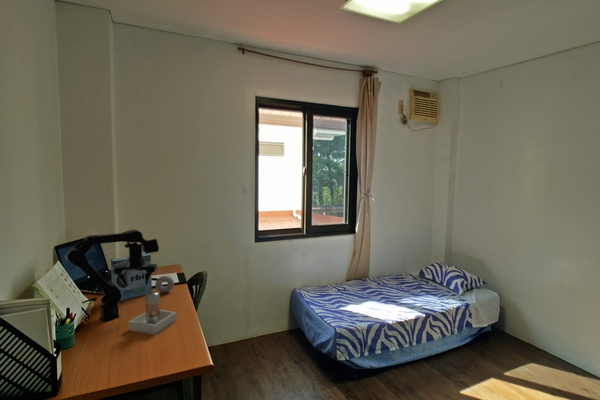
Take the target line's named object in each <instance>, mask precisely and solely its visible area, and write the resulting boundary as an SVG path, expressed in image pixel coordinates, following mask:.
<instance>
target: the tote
mask: <svg viewBox="0 0 600 400" xmlns="http://www.w3.org/2000/svg"><path fill="white" fill-rule="evenodd" d="M176 321H177V312H176V311H170V310H164V309H160V322H158V323H157V324H155V325H152V324H146V311H145V312H143V313H141V314H140V315H138V316H135V317H134V318H132V319H130V320H129V321H127V322H128V331H131V332H132V331H133V332H136V333H141V334H142V333H143V334H146V335H147V334H148V335H153V336H156V335H157V334H159V333H160V332H162V331H163V330H164V329H166V328H167V327H169V326H170V325H172V324H173V323H175V322H176Z"/></svg>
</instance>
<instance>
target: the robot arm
mask: <svg viewBox="0 0 600 400" xmlns="http://www.w3.org/2000/svg"><path fill="white" fill-rule="evenodd" d="M120 242H121V243H122V242H123V243H125V244H124V246H123V247H124V248H126V249H128V257H129V264H130V266H129V267H127V266H126V265H119V266H117V267H116V268H115V269H114V274H117V276H120V278H121V279H122V280H123V282H124V284H125V285H126V286H128V281H127V271H139V270H146V271H147V272H146V285H147V284H148V281H149V278H150V275H151V276H152V274H153V273H155V272H156V271H157V270H158V264H157V263H151V264H149V265H148V266H144V265H145V263H146V259H144V258H143V255H142V254H143V253H144V254H147V253H148V254H152V253H153V254H154V253H158V252H159V248H160V247H159V243H158V240H157V239H156V238H152V239H145V238H144V235H143V233H142V232H141V231H139V230H137V229H133V228H132V229H129V230H125V231H123V232H118V233H107V234H96V235H95V234H94V235H92V234H89V235H87V236H86V237H85V238H83V240H81V241H80V242H78V243H77V244H76V245H75V246H74V247H71V248H69V249H67V251H66V254H65V255H66V256H65V257H66V259H67V260H68V261H69V262H70V263H72V264H73V265H74V266H75V267H78V268H79V269H81V271H83V272H84V274H86V275H87V276H88V277H89V278H90V280H91V281H92V282H93V283H94V284H95V285H97V287H98V288H99V289H100V290H101V292H102V293H103V294H104V295H103V296H102V297H101V298H100V300H99V301H100V303H101V306H100V316H99V319H100V320H101V321H103V322H109V321H112V320H115V319H116V318H117V319H118V318H119V317H121V316H120V315H119V305H118V303H119V302H120V301H119V300H120V299H121V296H122V295H121V293H120V292H121V291H120V289H119V288H118V287H116V285H115V284H114V283H112V282H111V283H110V282H108V281H106V279H105V278H104V277H102V275H101V274H100V273H99V272H98V271H97V270H96V269H95V268H94V267H93V266H92V264H90V263H89V261H88V259H87V258H86V256H85V255H86V254H87V253H88V252H89V250H90V249H91V248H92V247H93V246H94V245H100V244H109V243H110V244H112V243H120ZM139 268H140V269H139Z"/></svg>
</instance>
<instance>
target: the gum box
mask: <svg viewBox="0 0 600 400" xmlns="http://www.w3.org/2000/svg"><path fill="white" fill-rule="evenodd" d="M142 255H143V258H144V259H146V263H145V265H144V266H148V265H149V264H152V259H151V257H152V254H151V253H142ZM119 265H126V266H127V267H129V266H130V264H129V256H123V257H117V258H112V259H110V272H111V273H110V274H111V284H112V283H114V284H115V285H116V287H118V288H119V289H120V291H121V292H120V293H121V295H122V296H121V299H120V300H119V301H118V302H121V301H122V302H123V301H126V300H129V299H133V298H138V297H141V296H146V293H148V292H152V291H153V283H152V282H153V281H152V274H151V275H150V278H149V281H148V284H147V285H146V272H147V271H146V270H139V271H127V281H128V286H126V285H125V284H124V282H123V280H122V279H121V278H120V276H117V274H114V269H115V268H116V267H117V266H119ZM139 269H140V268H139Z"/></svg>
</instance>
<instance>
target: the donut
mask: <svg viewBox="0 0 600 400" xmlns="http://www.w3.org/2000/svg"><path fill="white" fill-rule="evenodd" d="M164 282H166V283H167V285H165V286H163V285H162V284H163V283H164ZM154 285H155V290H157V291H158V292H159V293H163V294H164V293H168V292H170V291H171V290H172V289H173V288H174V285H175V281H174V279H173V277H171V276H169V275H162V276H160V277H159V278H157V280H156V281H155V284H154Z"/></svg>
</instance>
